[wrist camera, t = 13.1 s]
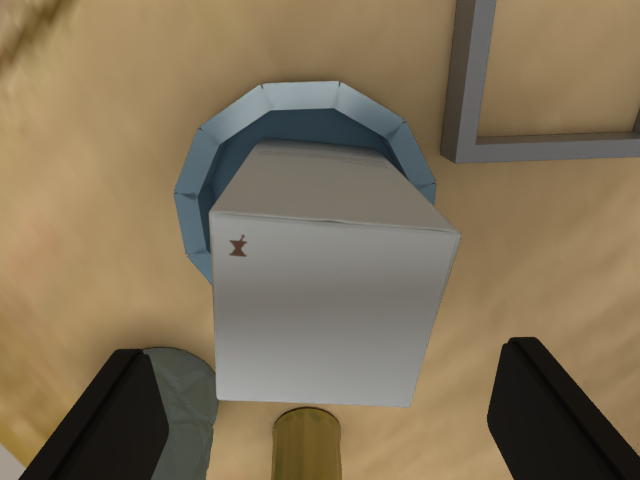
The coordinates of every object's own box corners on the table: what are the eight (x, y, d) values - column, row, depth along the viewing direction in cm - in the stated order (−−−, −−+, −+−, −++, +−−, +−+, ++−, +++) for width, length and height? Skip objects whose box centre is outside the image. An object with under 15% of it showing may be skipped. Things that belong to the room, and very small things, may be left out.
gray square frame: (734, -124, 18) (797, -154, 15) (643, 147, 23) (680, 155, 21) (469, -118, 17) (494, -147, 15) (440, 154, 23) (455, 163, 20)
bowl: (423, 77, 21) (447, 77, 17) (406, 285, 27) (421, 318, 23) (179, 85, 21) (151, 87, 17) (215, 293, 26) (201, 328, 23)
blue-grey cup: (108, 328, 27) (-23, 496, 17) (241, 350, 29) (201, 519, 18) (107, 420, 31) (1, 604, 21) (224, 436, 33) (183, 616, 22)
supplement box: (254, 247, 24) (206, 405, 13) (259, 133, 21) (201, 203, 10) (363, 257, 25) (412, 415, 13) (383, 147, 22) (469, 229, 10)
